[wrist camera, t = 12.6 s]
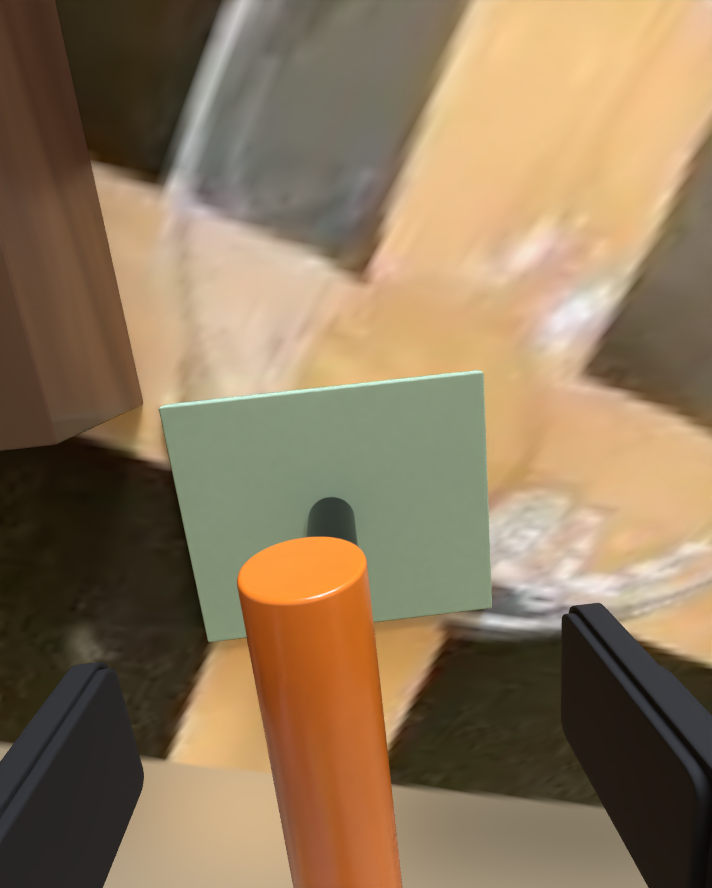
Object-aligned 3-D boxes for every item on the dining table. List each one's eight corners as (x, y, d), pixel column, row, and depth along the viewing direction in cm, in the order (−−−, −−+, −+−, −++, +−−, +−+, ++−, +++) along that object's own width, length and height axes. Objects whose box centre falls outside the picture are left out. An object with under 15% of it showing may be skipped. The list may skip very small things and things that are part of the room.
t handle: (345, 415, 18) (371, 591, 7) (366, 604, 20) (414, 991, 9) (292, 421, 18) (222, 609, 7) (318, 609, 20) (301, 1006, 9)
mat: (479, 369, 19) (483, 371, 18) (487, 600, 21) (492, 608, 21) (163, 404, 18) (158, 407, 18) (211, 634, 21) (207, 643, 20)
